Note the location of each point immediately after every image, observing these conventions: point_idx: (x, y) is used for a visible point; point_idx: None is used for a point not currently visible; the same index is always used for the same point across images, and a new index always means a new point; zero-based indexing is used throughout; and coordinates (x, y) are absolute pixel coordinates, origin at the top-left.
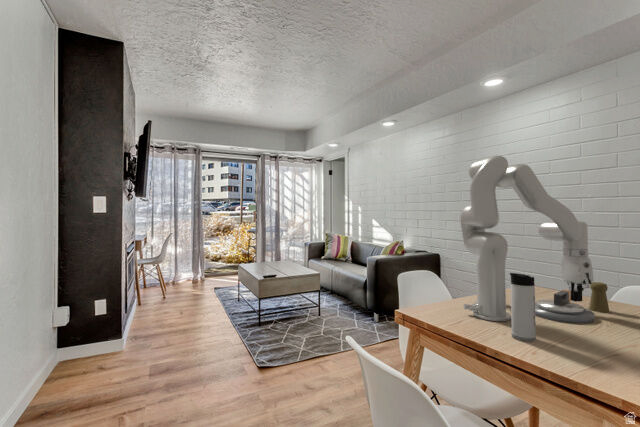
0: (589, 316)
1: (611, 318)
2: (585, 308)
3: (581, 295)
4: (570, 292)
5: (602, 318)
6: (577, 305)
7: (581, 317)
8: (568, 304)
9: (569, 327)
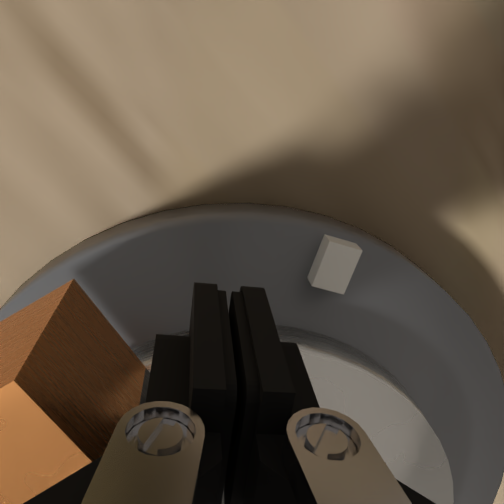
0: (497, 417)
1: (459, 58)
2: (322, 277)
3: (309, 382)
4: (62, 399)
5: (427, 164)
6: (319, 398)
7: (489, 494)
8: None
9: None
